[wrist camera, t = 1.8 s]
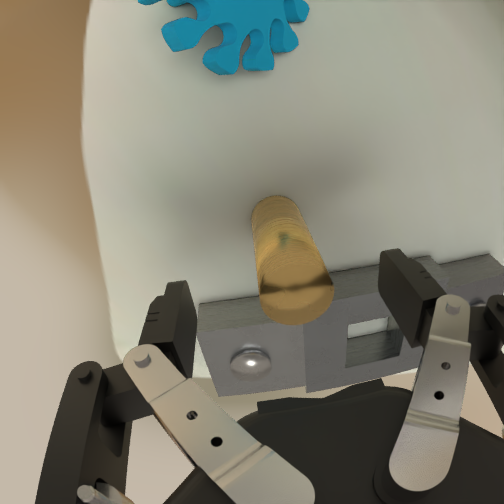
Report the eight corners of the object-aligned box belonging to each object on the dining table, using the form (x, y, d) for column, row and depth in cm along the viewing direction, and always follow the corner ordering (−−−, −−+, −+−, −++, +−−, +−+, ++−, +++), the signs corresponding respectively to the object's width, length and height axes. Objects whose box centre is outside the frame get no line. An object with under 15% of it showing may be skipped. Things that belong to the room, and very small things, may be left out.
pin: (298, 192, 19) (333, 258, 12) (301, 237, 20) (334, 318, 13) (247, 199, 19) (254, 270, 12) (255, 244, 21) (264, 329, 14)
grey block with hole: (491, 243, 21) (516, 264, 18) (469, 324, 26) (486, 348, 23) (196, 292, 22) (190, 326, 19) (222, 375, 26) (221, 408, 23)
